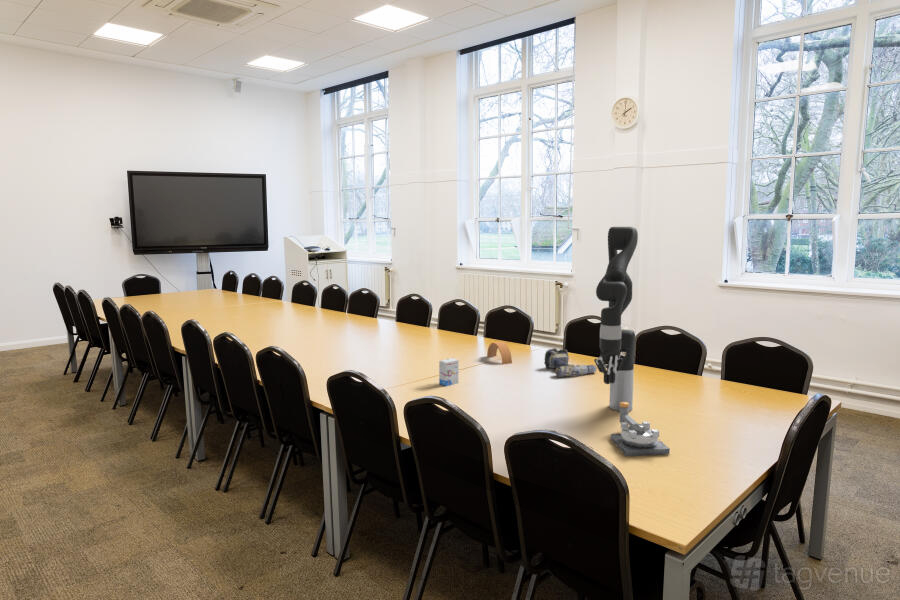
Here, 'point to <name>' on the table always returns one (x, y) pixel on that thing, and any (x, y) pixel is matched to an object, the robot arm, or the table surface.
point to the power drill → (565, 364)
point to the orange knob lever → (636, 430)
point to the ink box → (448, 371)
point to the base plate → (639, 448)
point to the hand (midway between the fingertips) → (609, 383)
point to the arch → (503, 350)
